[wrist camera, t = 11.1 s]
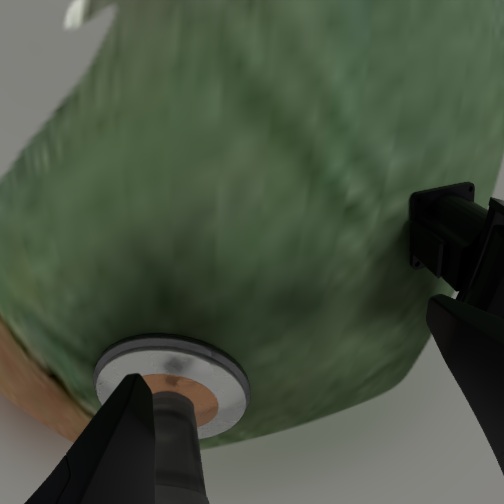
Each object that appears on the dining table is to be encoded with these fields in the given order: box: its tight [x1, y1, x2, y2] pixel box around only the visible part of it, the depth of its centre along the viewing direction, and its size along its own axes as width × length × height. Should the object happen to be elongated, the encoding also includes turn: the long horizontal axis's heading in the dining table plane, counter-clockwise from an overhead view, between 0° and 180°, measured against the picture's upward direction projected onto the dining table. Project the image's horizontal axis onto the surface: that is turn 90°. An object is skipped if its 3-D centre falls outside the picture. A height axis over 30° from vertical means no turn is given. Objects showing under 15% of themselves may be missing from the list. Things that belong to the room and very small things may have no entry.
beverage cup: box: [152, 392, 209, 504], centre depth 17 cm, size 7×7×20 cm
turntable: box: [96, 346, 246, 439], centre depth 26 cm, size 14×14×1 cm
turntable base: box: [93, 334, 250, 412], centre depth 27 cm, size 15×15×1 cm
